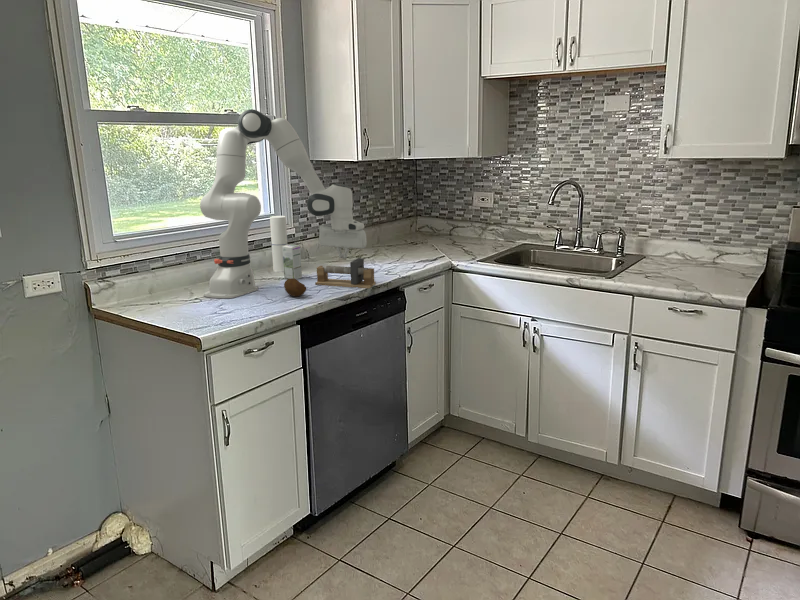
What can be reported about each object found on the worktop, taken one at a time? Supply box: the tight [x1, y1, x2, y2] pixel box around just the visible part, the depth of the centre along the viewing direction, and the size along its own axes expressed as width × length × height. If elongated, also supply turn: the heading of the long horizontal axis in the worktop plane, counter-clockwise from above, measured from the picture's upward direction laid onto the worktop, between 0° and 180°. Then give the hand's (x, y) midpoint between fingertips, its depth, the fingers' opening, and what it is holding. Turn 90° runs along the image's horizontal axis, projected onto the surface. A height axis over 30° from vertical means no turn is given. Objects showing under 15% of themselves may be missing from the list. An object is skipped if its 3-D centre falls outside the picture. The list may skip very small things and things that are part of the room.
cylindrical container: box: [269, 215, 288, 273], centre depth 279 cm, size 7×7×25 cm
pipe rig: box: [315, 265, 377, 289], centre depth 253 cm, size 8×24×8 cm, turn 72°
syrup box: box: [282, 244, 303, 280], centre depth 265 cm, size 6×6×14 cm
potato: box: [283, 278, 307, 298], centre depth 236 cm, size 7×12×7 cm, turn 53°
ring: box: [349, 257, 365, 284], centre depth 251 cm, size 9×2×9 cm, turn 162°
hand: (342, 258), depth 250 cm, fingers closed
